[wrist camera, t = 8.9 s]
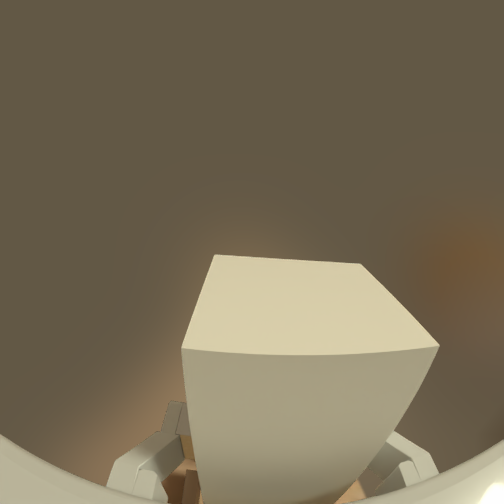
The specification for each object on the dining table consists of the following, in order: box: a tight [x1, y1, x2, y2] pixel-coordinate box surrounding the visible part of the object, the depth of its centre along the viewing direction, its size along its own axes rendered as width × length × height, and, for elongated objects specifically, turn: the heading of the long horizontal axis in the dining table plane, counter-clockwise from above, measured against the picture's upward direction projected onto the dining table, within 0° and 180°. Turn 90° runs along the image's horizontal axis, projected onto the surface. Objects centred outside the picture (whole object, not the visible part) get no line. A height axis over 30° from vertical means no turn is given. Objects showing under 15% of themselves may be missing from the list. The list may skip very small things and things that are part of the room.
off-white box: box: [181, 255, 440, 504], centre depth 9 cm, size 5×5×14 cm
